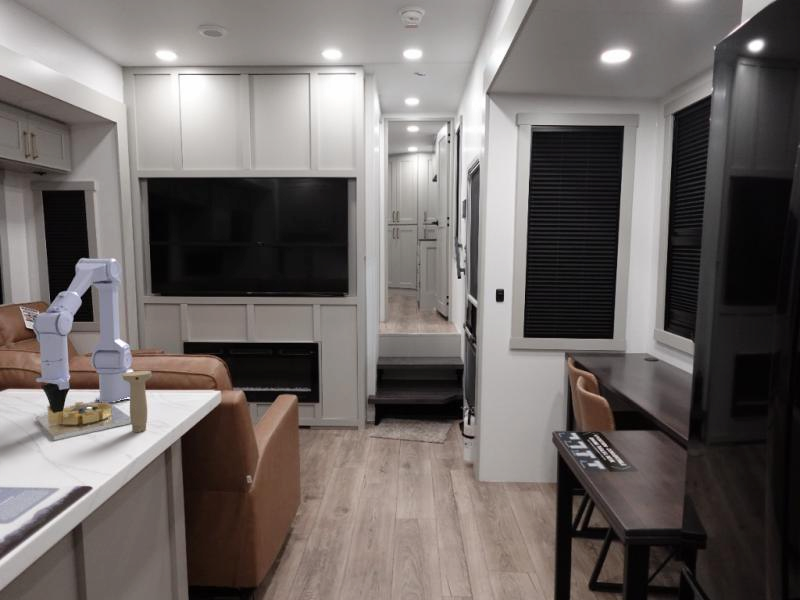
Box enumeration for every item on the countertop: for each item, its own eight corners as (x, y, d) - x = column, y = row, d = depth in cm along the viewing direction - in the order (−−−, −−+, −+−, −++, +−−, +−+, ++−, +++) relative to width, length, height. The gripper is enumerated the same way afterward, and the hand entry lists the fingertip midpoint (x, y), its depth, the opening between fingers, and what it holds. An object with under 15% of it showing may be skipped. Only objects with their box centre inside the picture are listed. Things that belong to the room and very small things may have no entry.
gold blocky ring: (102, 407, 143) (102, 391, 142) (116, 416, 135) (115, 400, 134) (43, 418, 133) (42, 401, 132) (54, 429, 125) (53, 411, 124)
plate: (110, 406, 148) (109, 393, 148) (134, 422, 134) (133, 408, 134) (36, 420, 135) (35, 406, 135) (54, 440, 121) (53, 424, 121)
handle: (153, 431, 128) (151, 374, 126) (124, 435, 125) (122, 376, 124) (153, 425, 132) (151, 370, 131) (125, 429, 129) (123, 372, 128)
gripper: (28, 357, 129) (31, 408, 130) (43, 366, 119) (47, 421, 120) (60, 353, 134) (62, 403, 135) (77, 361, 124) (80, 415, 126)
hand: (57, 411), depth 128 cm, fingers closed
